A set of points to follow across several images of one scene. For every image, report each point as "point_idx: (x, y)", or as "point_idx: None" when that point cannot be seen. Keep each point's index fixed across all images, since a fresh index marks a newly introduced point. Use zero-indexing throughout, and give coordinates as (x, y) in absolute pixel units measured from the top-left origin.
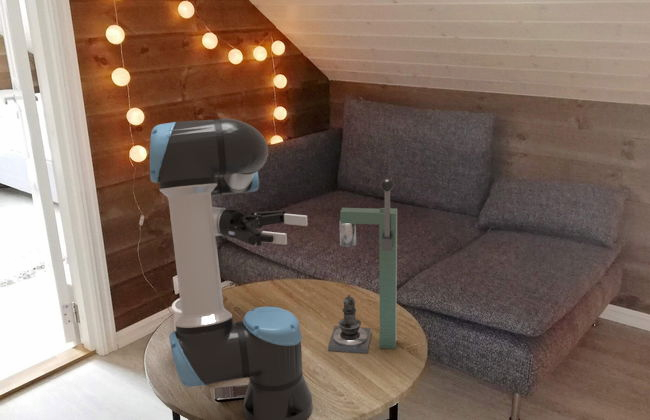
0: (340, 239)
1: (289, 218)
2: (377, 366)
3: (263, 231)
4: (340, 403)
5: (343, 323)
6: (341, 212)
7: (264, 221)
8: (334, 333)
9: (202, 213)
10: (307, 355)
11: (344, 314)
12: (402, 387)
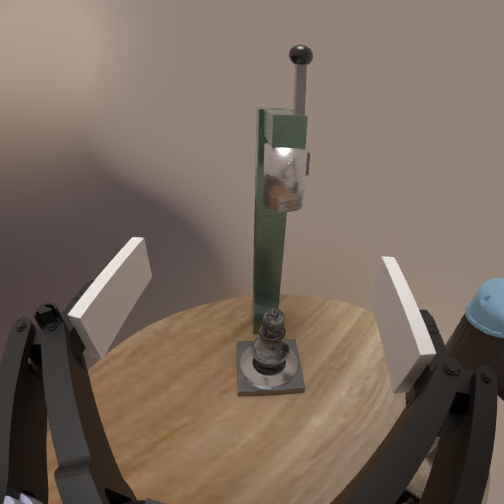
0: (297, 195)
1: (104, 310)
2: (318, 329)
3: (423, 347)
4: None
5: (281, 353)
6: (306, 118)
7: (106, 458)
8: (270, 384)
9: None
10: (326, 417)
11: (279, 341)
12: (345, 304)
